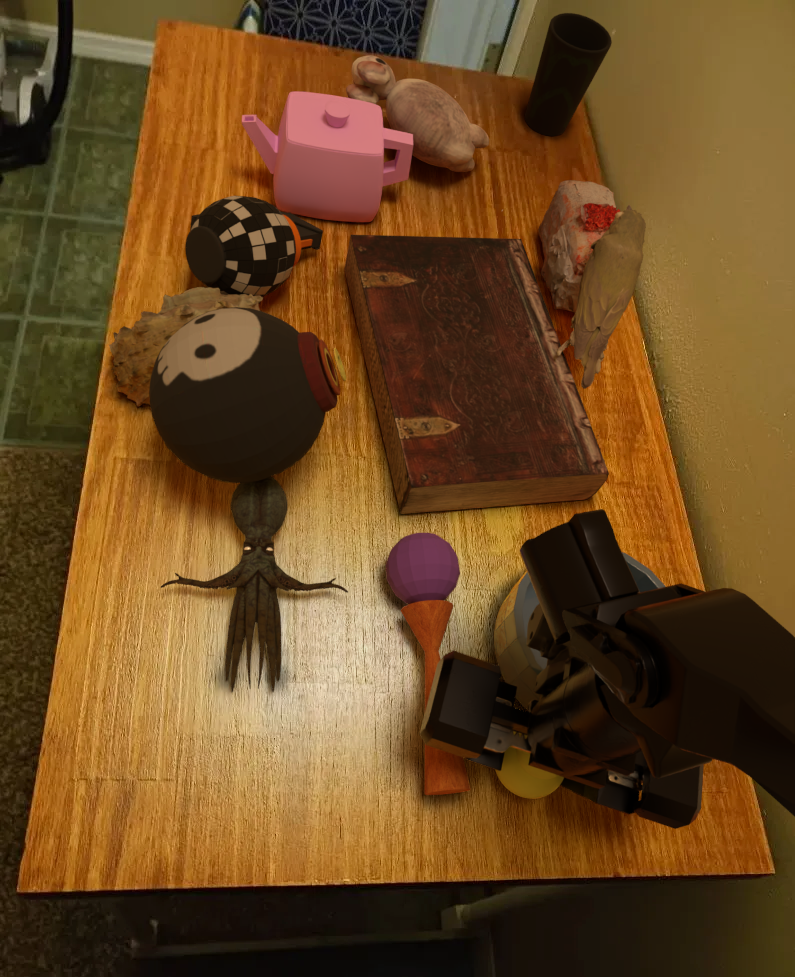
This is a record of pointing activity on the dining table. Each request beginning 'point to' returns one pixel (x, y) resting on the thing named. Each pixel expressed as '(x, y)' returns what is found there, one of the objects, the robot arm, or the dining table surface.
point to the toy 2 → (420, 114)
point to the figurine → (256, 577)
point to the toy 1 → (242, 393)
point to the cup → (565, 71)
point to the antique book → (468, 375)
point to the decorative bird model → (606, 290)
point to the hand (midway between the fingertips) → (522, 764)
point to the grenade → (247, 245)
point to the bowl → (513, 623)
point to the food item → (573, 236)
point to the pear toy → (526, 775)
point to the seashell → (163, 335)
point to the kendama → (429, 630)
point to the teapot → (330, 156)
